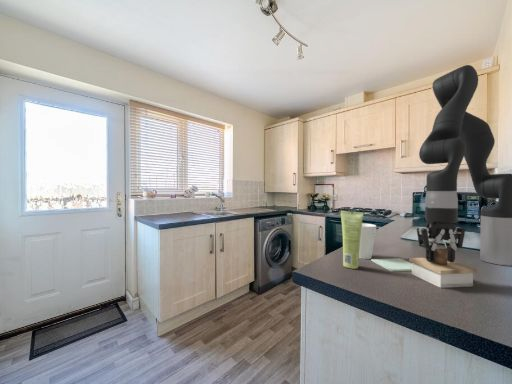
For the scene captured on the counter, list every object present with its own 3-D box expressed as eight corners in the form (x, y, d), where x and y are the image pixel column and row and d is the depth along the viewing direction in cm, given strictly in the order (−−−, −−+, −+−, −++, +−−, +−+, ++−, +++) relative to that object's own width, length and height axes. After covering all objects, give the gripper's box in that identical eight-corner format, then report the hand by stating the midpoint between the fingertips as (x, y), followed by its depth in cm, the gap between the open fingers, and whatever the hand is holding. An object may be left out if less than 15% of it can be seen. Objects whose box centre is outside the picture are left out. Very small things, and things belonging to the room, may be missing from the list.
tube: (352, 263, 81) (352, 210, 80) (363, 268, 76) (363, 212, 76) (339, 265, 79) (340, 211, 78) (350, 270, 74) (350, 212, 74)
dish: (439, 272, 72) (440, 260, 72) (472, 286, 62) (473, 272, 62) (411, 273, 71) (411, 261, 71) (440, 287, 61) (440, 273, 61)
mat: (400, 259, 85) (400, 258, 85) (424, 270, 74) (424, 268, 74) (371, 260, 84) (371, 259, 84) (391, 271, 73) (391, 269, 73)
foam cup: (379, 261, 83) (379, 227, 83) (353, 259, 85) (353, 226, 85) (371, 253, 93) (371, 223, 93) (348, 252, 95) (348, 222, 94)
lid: (439, 260, 72) (440, 243, 72) (476, 272, 61) (476, 253, 61) (409, 261, 71) (409, 244, 71) (440, 274, 60) (440, 254, 60)
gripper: (450, 205, 70) (449, 257, 70) (408, 205, 69) (408, 258, 69) (475, 207, 63) (475, 265, 63) (430, 207, 61) (429, 267, 62)
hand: (440, 261), depth 66 cm, fingers open, 5 cm apart
